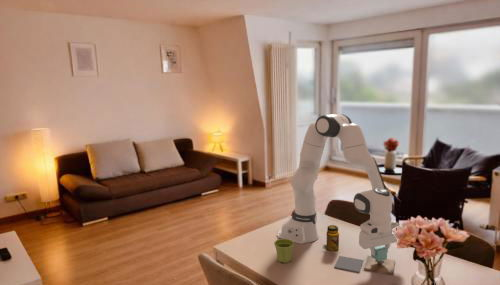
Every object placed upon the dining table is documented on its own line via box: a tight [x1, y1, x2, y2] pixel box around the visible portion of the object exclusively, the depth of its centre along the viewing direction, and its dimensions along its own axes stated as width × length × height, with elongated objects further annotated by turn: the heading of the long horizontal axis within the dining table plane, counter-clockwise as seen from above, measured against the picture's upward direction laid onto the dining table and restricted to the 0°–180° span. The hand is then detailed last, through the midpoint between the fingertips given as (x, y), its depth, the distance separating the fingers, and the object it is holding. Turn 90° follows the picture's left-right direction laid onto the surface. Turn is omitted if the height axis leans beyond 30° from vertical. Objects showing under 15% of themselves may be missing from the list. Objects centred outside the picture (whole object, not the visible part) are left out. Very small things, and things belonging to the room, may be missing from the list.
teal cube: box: [370, 245, 388, 261], centre depth 159 cm, size 5×5×5 cm
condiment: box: [321, 224, 341, 254], centre depth 176 cm, size 7×8×12 cm
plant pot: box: [273, 238, 295, 264], centre depth 167 cm, size 9×9×9 cm
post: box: [363, 255, 396, 276], centre depth 159 cm, size 12×12×7 cm
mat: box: [333, 255, 364, 274], centre depth 161 cm, size 11×11×1 cm
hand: (379, 253), depth 158 cm, fingers closed on teal cube, 5 cm apart
